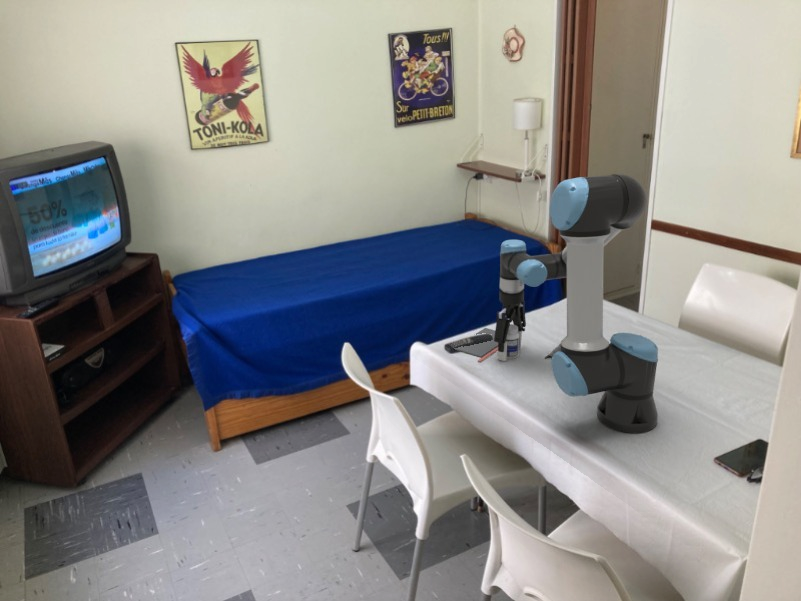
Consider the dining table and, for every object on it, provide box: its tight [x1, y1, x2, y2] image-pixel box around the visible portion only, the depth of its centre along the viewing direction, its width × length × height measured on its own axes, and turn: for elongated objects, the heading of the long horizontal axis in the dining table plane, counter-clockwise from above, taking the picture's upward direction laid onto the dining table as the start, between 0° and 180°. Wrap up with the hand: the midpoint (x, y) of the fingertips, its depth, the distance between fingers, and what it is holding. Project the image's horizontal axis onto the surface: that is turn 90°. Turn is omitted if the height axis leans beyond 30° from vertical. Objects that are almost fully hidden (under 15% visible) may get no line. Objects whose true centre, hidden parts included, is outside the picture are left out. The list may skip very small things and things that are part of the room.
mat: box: [453, 327, 498, 359], centre depth 218 cm, size 20×11×1 cm, turn 141°
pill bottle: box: [505, 323, 520, 360], centre depth 207 cm, size 6×6×10 cm
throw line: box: [477, 347, 498, 363], centre depth 214 cm, size 26×1×1 cm, turn 141°
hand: (509, 354), depth 209 cm, fingers open, 9 cm apart
